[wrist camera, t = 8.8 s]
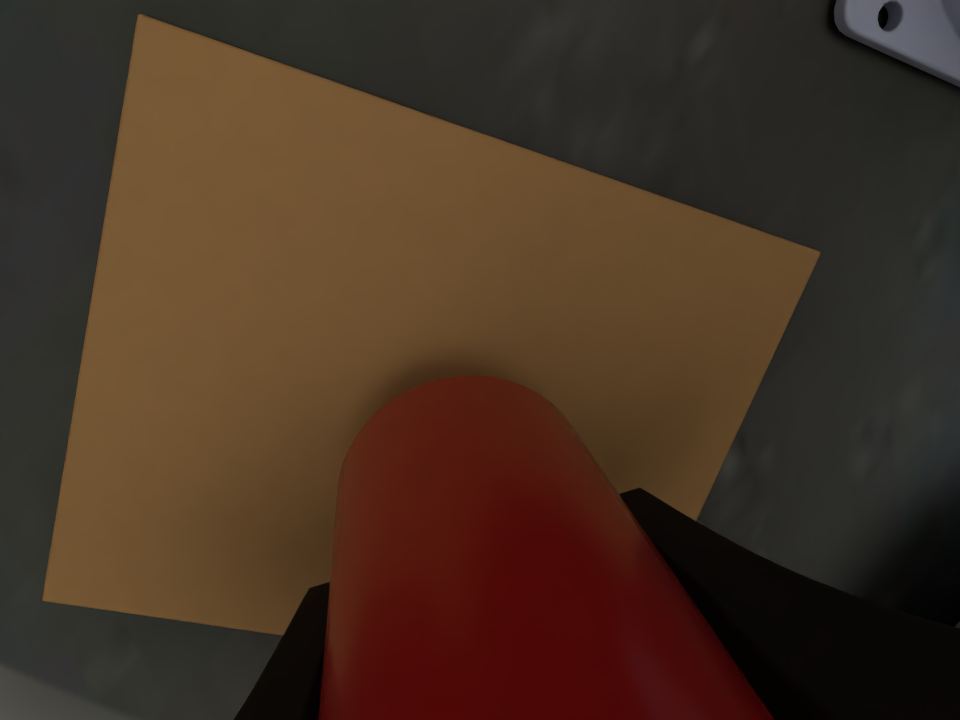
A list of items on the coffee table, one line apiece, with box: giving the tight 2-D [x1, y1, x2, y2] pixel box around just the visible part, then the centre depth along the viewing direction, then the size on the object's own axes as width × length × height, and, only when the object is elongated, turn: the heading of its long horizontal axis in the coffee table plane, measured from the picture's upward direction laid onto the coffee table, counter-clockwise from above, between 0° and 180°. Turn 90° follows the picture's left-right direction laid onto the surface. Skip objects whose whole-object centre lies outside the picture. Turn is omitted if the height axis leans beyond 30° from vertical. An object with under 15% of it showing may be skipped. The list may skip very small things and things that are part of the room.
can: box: [319, 375, 775, 720], centre depth 9 cm, size 5×5×8 cm
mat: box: [42, 14, 820, 635], centre depth 15 cm, size 14×12×1 cm
